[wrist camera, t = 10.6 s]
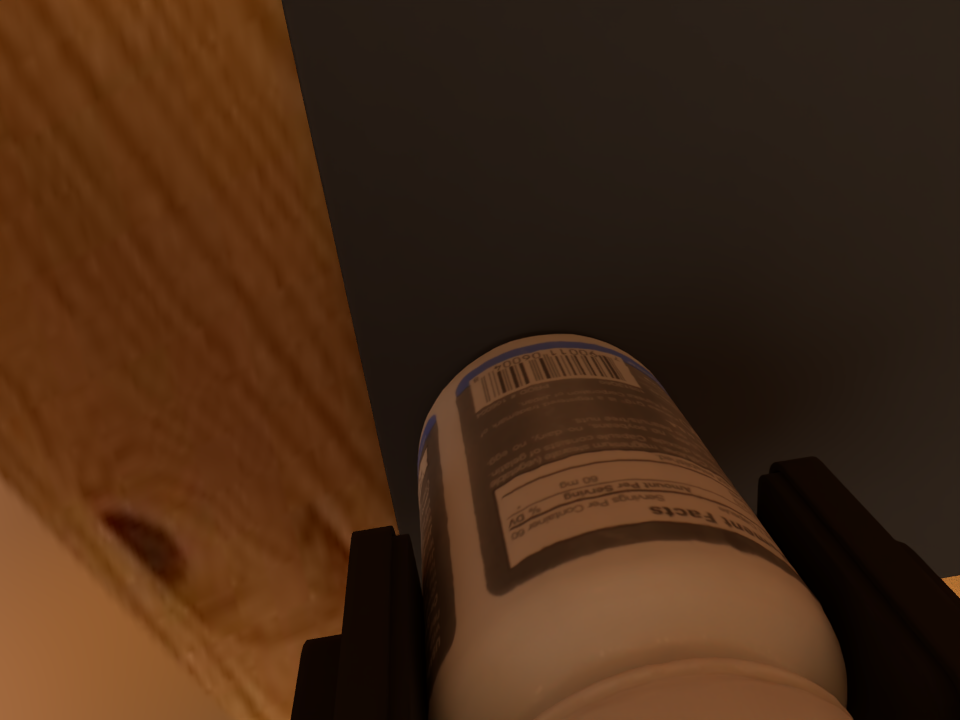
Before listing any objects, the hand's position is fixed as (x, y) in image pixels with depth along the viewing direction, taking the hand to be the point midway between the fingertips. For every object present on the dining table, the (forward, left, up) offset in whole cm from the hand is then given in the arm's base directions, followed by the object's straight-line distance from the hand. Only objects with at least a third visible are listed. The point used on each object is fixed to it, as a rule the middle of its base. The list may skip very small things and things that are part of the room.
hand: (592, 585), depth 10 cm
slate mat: (+4, +2, -4) cm, 6 cm away
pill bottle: (0, 0, -4) cm, 4 cm away
